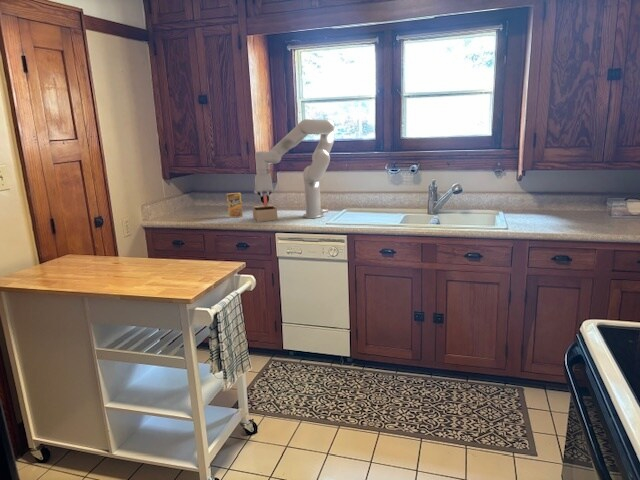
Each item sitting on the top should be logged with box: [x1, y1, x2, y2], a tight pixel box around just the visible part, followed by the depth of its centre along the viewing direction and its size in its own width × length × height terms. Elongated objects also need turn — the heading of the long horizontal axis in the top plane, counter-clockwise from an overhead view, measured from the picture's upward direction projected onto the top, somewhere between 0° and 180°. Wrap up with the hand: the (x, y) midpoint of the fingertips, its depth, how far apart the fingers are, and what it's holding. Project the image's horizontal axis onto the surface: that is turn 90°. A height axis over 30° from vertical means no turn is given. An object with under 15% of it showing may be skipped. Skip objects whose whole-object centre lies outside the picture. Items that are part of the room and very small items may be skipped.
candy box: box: [225, 192, 244, 219], centre depth 311 cm, size 9×4×15 cm, turn 107°
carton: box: [252, 206, 278, 223], centre depth 301 cm, size 13×13×7 cm
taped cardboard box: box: [252, 194, 277, 208], centre depth 299 cm, size 12×12×7 cm
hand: (265, 202), depth 296 cm, fingers closed on taped cardboard box, 2 cm apart
